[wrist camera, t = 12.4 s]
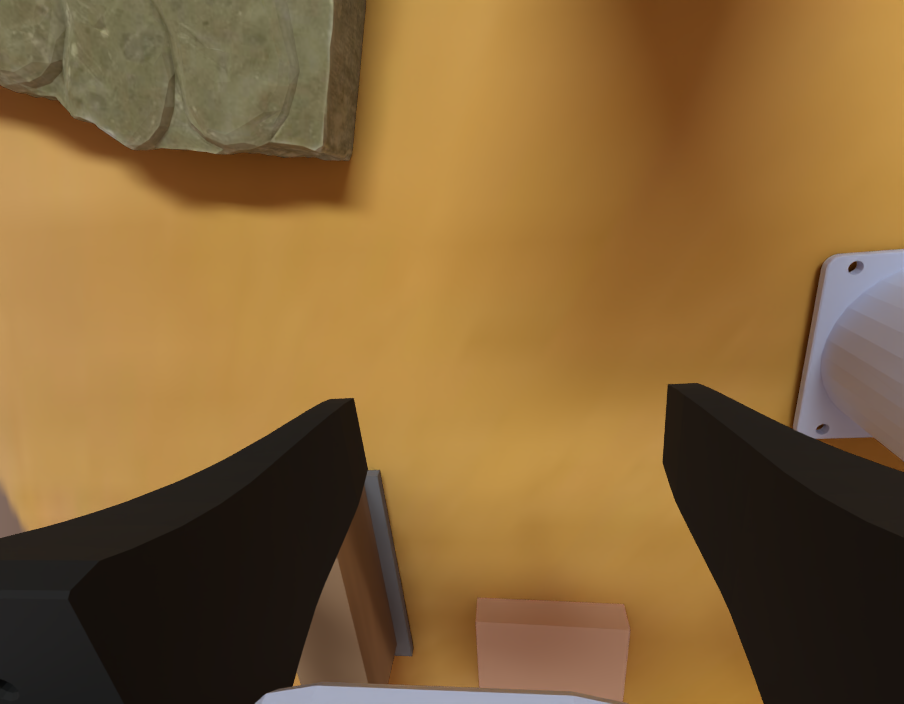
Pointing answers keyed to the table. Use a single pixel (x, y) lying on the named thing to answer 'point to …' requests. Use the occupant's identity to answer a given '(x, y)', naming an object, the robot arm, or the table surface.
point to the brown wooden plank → (352, 615)
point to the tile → (552, 646)
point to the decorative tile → (195, 70)
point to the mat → (388, 562)
